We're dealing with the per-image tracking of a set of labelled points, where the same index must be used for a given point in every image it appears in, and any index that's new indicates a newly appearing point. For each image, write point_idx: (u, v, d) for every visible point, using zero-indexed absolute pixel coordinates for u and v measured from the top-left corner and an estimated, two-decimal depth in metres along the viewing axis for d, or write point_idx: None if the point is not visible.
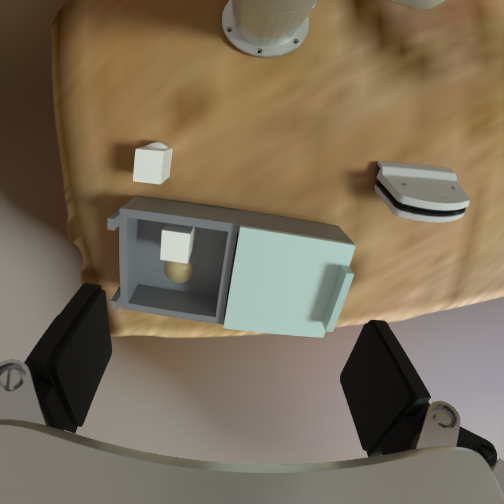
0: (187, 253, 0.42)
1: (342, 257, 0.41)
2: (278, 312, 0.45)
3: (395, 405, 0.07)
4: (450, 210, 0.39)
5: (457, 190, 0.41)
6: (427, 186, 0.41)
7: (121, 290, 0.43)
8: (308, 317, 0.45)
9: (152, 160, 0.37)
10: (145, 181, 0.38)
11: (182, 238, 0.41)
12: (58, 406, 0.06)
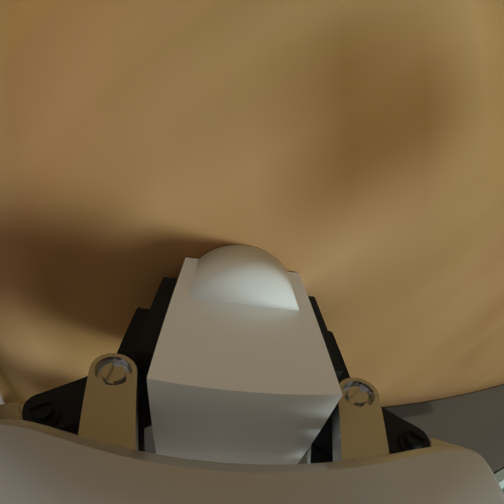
0: None
1: None
2: None
3: None
4: None
5: None
6: None
7: None
8: None
9: (263, 427, 0.06)
10: None
11: None
12: None
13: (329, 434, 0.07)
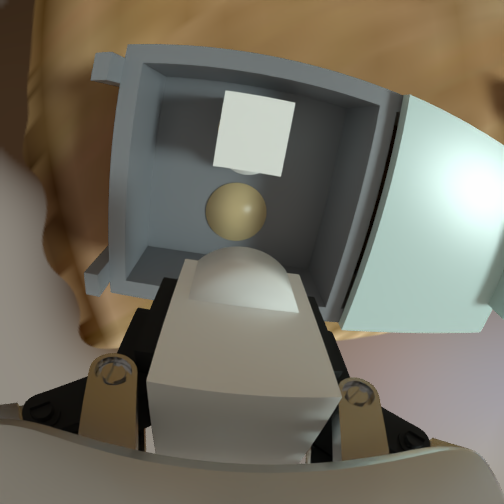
0: (283, 150, 0.17)
1: None
2: (442, 290, 0.20)
3: None
4: None
5: None
6: None
7: (111, 249, 0.18)
8: (476, 297, 0.20)
9: (263, 429, 0.06)
10: None
11: (275, 112, 0.16)
12: None
13: (329, 434, 0.07)
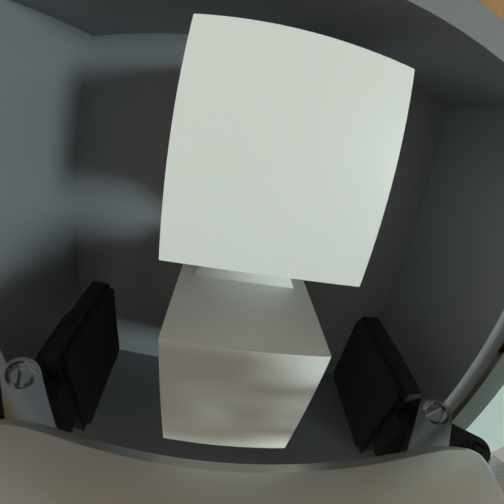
0: (376, 213, 0.05)
1: None
2: None
3: (386, 401, 0.07)
4: None
5: None
6: None
7: None
8: None
9: (261, 389, 0.07)
10: (220, 443, 0.08)
11: (359, 89, 0.04)
12: (68, 404, 0.06)
13: None
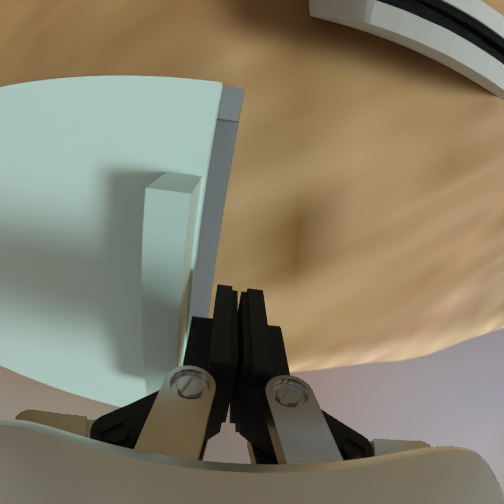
0: None
1: (167, 137, 0.09)
2: (33, 336, 0.12)
3: (240, 372, 0.08)
4: None
5: None
6: None
7: None
8: (112, 364, 0.13)
9: None
10: None
11: None
12: None
13: (262, 433, 0.07)
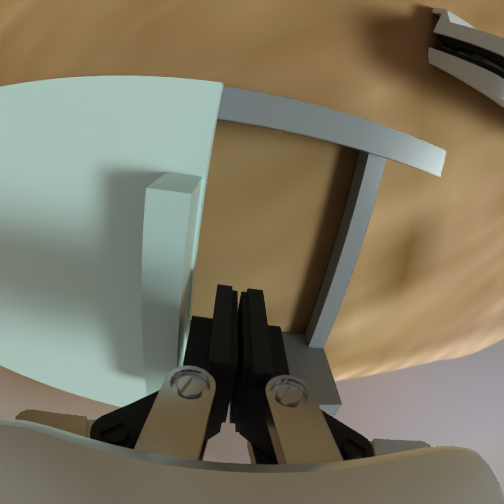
0: None
1: (167, 138, 0.09)
2: (33, 336, 0.12)
3: (240, 372, 0.08)
4: None
5: None
6: None
7: None
8: (112, 364, 0.13)
9: None
10: None
11: None
12: None
13: (262, 433, 0.07)
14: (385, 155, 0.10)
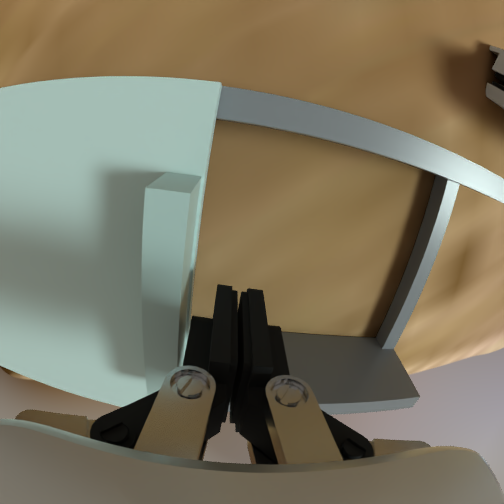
0: None
1: (166, 138, 0.09)
2: (34, 337, 0.12)
3: (240, 372, 0.08)
4: None
5: None
6: None
7: None
8: (113, 364, 0.13)
9: None
10: None
11: None
12: None
13: (261, 433, 0.07)
14: (485, 193, 0.11)
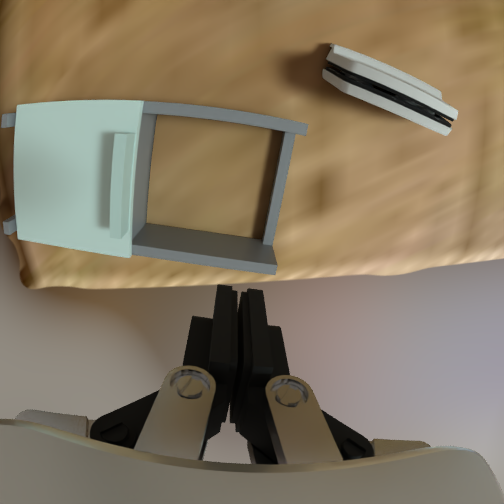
0: None
1: (124, 120, 0.25)
2: (62, 213, 0.28)
3: (241, 372, 0.08)
4: (428, 108, 0.25)
5: None
6: (396, 78, 0.27)
7: None
8: (98, 221, 0.29)
9: None
10: None
11: None
12: None
13: (261, 433, 0.07)
14: (275, 128, 0.27)
